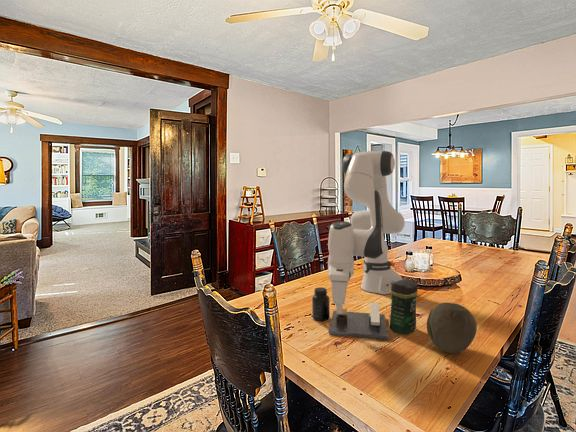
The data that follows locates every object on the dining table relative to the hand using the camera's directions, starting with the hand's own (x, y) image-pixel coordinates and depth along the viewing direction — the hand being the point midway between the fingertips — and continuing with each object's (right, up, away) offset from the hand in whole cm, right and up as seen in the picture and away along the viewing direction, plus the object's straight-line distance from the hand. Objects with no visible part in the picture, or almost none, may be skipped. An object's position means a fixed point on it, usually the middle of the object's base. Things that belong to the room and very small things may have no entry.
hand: (340, 307), depth 114 cm
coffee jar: (+23, -10, +4) cm, 26 cm away
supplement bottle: (-5, -9, +15) cm, 18 cm away
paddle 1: (+2, -5, +9) cm, 10 cm away
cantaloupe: (+34, -11, -9) cm, 37 cm away
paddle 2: (+14, -5, +6) cm, 16 cm away
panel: (+8, -9, +8) cm, 14 cm away
